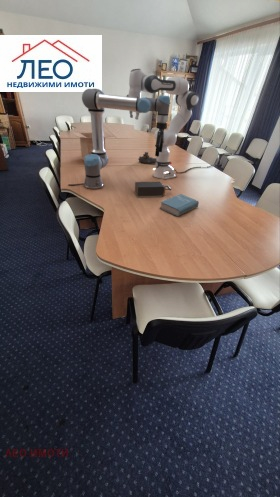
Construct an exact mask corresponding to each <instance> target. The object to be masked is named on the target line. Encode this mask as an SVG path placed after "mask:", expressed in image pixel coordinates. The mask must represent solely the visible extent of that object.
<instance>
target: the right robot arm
mask: <svg viewBox="0 0 280 497" xmlns="http://www.w3.org/2000/svg"><path fill="white" fill-rule="evenodd" d="M128 85H129V89H128V94H126V95H125V96H126V97H136V98H142V92H144V93H150V94H156V93H157V92H160V91H163V92H166V94H168V95H173V96H175V104H176V105H177V106H179V107H180V109H179V111H178V112H176V114H175V115H174V116H173V117H172V119H171V120H170V122H169V126H168V128H166V129H164V143H163V147H162V152H159V156H156V158H157V159H156V164H154V168H152V170H153V175H152V176H153V177H154V178H156V179H162V180H169V179H173V178H177V175H176V174H184V173H187V172H188V171H190V170H192V169H197V168H200V166H193V167H191V168H188V169H187V170H185V171H181V172H179V171H177V170H176V169H175V168H174V167H172V166H171V165H172V164H173V162H172V161H169V158H170V150H169V147H173V146H175V144H176V143H177V140H178V139H177V138H178V135H179V133H180V131H181V130H182V129H183V128H184V127H185V125H186V124H187V123H188V122H189V120H190V119H191V117H192V115H193V110H194V109H195V107H196V106H197V105H198V103H199V100H200V99H199V94H198V93H197V92H195V91H192V90H191V91H190V90H189V88H190V84H189V80H187V79H186V78H183V77H180V76H179V77H178V76H169V77H168V78H167V79H160V78H159V76H156V75H155V74H152V75H147V74H146V73H145V72H143V70H142V69H141V68H134V69H131V70H130V72H129V78H128ZM128 112H129V118H131V119H132V118H134V115H133V113H135V120H136V121H137V120H139V116H140V114H143V113H142V112H137V111H128ZM158 131H159V129H157V130H155V132H154V133H153V134H154V135H153V137H154V140H155V141H156V140H157V134H158ZM213 166H214V165H213V164H210V165H209V166H208V168H211V167H213ZM175 173H176V174H175Z"/></svg>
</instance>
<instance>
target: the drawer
mask: <svg viewBox="0 0 280 497" xmlns="http://www.w3.org/2000/svg"><path fill="white" fill-rule="evenodd" d="M161 184H162V185H163V186H164V190H163V196H165V195H166V191H172V188H171V187H170V185H168V184H167V185H165V184H163V182H161Z"/></svg>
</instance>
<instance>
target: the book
mask: <svg viewBox="0 0 280 497" xmlns="http://www.w3.org/2000/svg"><path fill="white" fill-rule="evenodd" d="M160 203H161V204H160V208H159V209H161V210H163V211H165V212H167V213H169V214H171V215H173V216H176V217H180V216H181V215H184V214H186V213H188V212H190V211H192V210H194V209H196V208H198V207H199V204H200V203H199V200H196V199H194V198H192V197H189V196H187V195H184V194H182V193H180V194H177V195H175V196H172V197H169V198H166V199H164V200H161V201H160Z"/></svg>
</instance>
